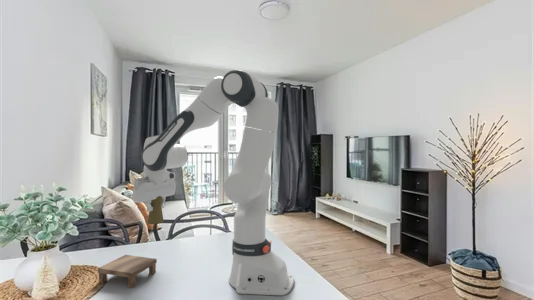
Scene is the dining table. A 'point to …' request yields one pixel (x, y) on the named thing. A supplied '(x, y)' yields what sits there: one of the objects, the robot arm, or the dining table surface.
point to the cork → (156, 211)
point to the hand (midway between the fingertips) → (155, 209)
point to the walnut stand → (127, 268)
